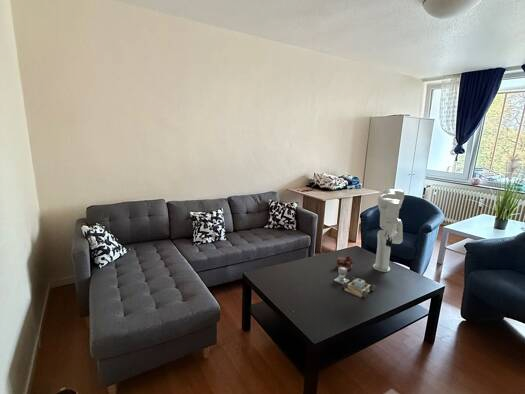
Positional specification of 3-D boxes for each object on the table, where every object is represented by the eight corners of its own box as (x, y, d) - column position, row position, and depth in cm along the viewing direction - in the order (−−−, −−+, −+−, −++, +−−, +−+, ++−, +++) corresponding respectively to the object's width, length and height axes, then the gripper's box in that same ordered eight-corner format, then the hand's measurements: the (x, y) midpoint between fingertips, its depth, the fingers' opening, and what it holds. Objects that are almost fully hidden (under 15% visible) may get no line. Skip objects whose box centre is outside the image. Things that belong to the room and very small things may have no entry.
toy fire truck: (353, 271, 213) (354, 258, 211) (336, 269, 215) (337, 257, 213) (351, 267, 220) (352, 254, 218) (335, 265, 222) (336, 253, 219)
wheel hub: (340, 270, 201) (341, 265, 200) (348, 273, 197) (348, 268, 196) (336, 272, 197) (336, 268, 196) (343, 275, 193) (344, 271, 192)
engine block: (357, 285, 190) (358, 277, 189) (364, 288, 187) (365, 279, 185) (353, 288, 187) (354, 279, 185) (360, 291, 183) (361, 282, 182)
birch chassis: (353, 281, 198) (354, 275, 197) (375, 290, 187) (376, 284, 186) (341, 289, 187) (342, 283, 186) (364, 299, 176) (364, 293, 175)
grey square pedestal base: (339, 276, 204) (340, 269, 202) (349, 280, 198) (350, 273, 197) (333, 280, 198) (334, 272, 197) (343, 284, 193) (344, 276, 191)
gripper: (390, 216, 191) (387, 241, 195) (381, 220, 181) (378, 247, 185) (401, 219, 186) (398, 244, 190) (392, 223, 176) (389, 250, 180)
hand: (388, 245), depth 187 cm, fingers closed
